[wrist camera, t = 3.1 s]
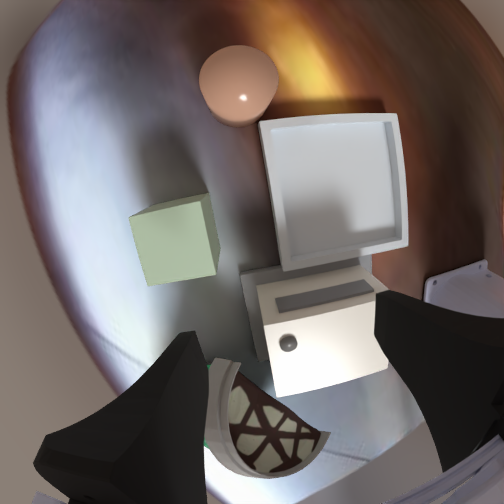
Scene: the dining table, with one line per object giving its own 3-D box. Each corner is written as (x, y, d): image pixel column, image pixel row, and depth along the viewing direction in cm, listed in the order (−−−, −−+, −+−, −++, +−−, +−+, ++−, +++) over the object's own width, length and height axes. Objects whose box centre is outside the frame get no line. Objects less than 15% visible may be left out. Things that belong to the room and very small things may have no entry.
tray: (387, 116, 17) (396, 113, 16) (399, 241, 20) (408, 246, 19) (257, 124, 17) (259, 121, 16) (280, 264, 20) (283, 271, 19)
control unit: (367, 247, 20) (411, 277, 14) (367, 332, 23) (398, 375, 17) (239, 272, 20) (242, 315, 14) (257, 357, 23) (264, 410, 17)
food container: (126, 409, 18) (179, 445, 11) (165, 356, 22) (234, 357, 15) (228, 468, 21) (305, 497, 14) (254, 422, 25) (333, 434, 18)
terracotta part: (261, 70, 16) (270, 41, 11) (272, 122, 17) (285, 107, 12) (203, 79, 16) (194, 52, 11) (213, 132, 17) (205, 120, 12)
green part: (209, 192, 18) (200, 201, 14) (220, 248, 20) (216, 274, 15) (153, 204, 18) (128, 217, 14) (167, 258, 20) (147, 286, 15)
